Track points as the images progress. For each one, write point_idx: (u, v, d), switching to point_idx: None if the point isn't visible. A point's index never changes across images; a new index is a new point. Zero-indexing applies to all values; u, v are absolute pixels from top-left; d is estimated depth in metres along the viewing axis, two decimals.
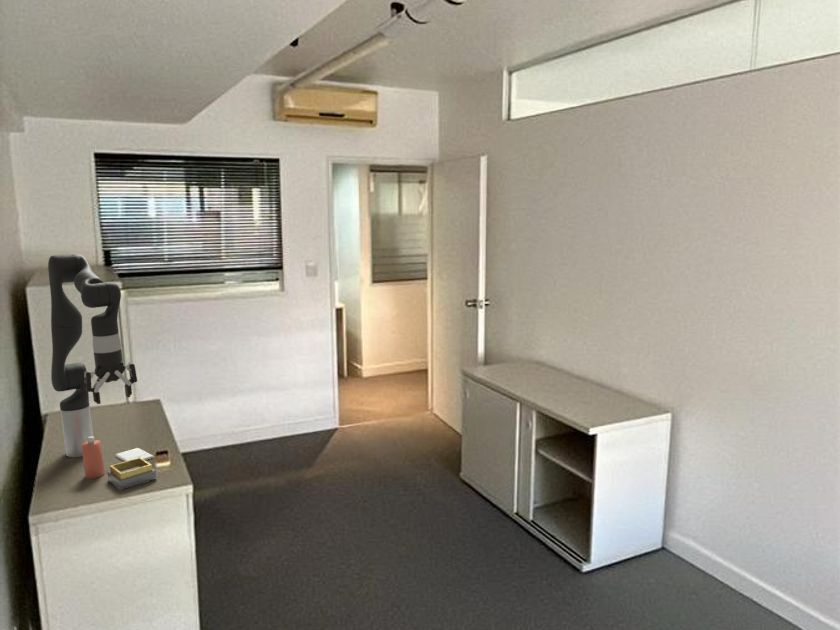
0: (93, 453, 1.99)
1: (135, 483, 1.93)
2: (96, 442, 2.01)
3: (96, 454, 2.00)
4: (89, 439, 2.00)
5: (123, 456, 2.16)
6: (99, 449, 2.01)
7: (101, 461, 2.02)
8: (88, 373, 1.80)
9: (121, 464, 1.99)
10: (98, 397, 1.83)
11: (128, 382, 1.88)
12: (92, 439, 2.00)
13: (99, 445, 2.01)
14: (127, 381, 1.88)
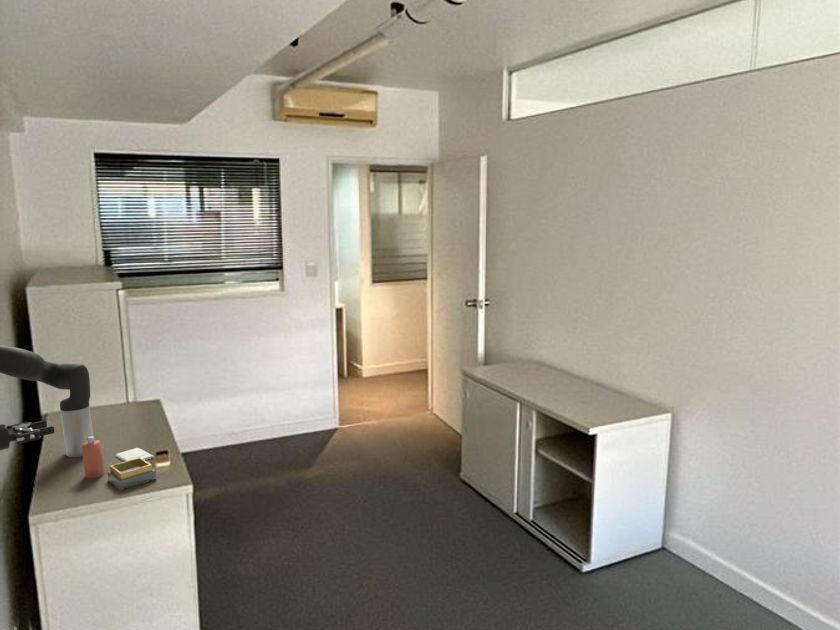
0: (93, 453, 1.99)
1: (135, 483, 1.93)
2: (96, 442, 2.01)
3: (96, 454, 2.00)
4: (89, 439, 2.00)
5: (123, 456, 2.16)
6: (99, 449, 2.01)
7: (101, 461, 2.02)
8: None
9: (121, 464, 1.99)
10: None
11: None
12: (92, 439, 2.00)
13: (99, 445, 2.01)
14: None
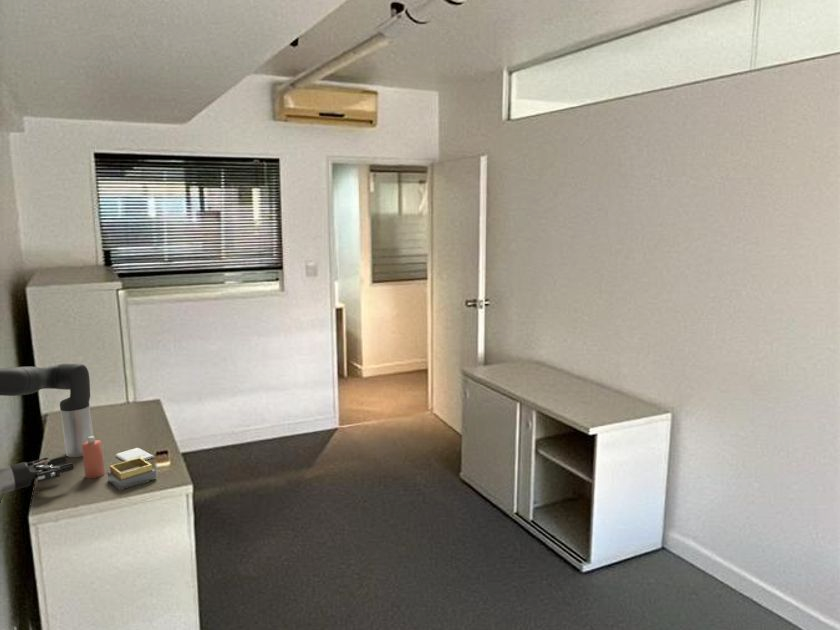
0: (93, 453, 1.99)
1: (135, 483, 1.93)
2: (96, 442, 2.01)
3: (96, 454, 2.00)
4: (89, 439, 2.00)
5: (123, 456, 2.16)
6: (100, 448, 2.01)
7: (101, 461, 2.02)
8: None
9: (121, 464, 1.99)
10: None
11: None
12: (92, 439, 2.00)
13: (99, 445, 2.01)
14: None
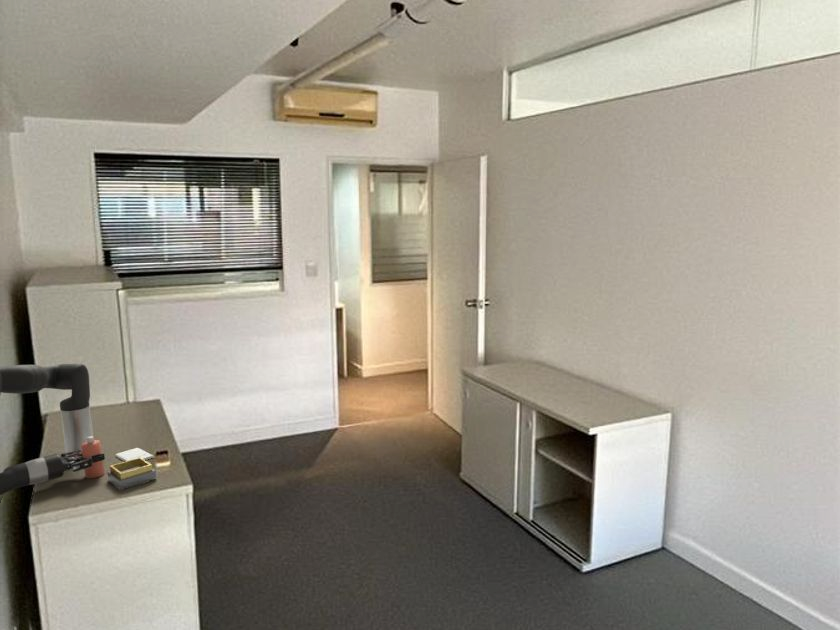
0: (93, 453, 1.99)
1: (135, 483, 1.93)
2: (95, 442, 2.01)
3: (96, 454, 1.99)
4: (88, 439, 1.99)
5: (123, 456, 2.16)
6: (99, 448, 2.01)
7: (101, 461, 2.02)
8: None
9: (121, 464, 1.99)
10: None
11: None
12: (91, 439, 2.00)
13: (99, 445, 2.01)
14: None
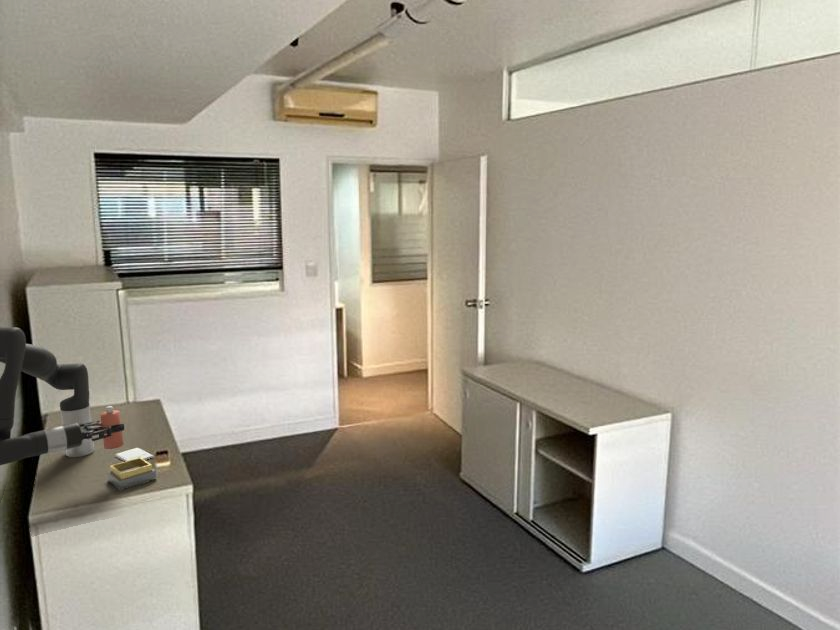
0: (112, 423, 1.93)
1: (135, 483, 1.93)
2: (115, 412, 1.96)
3: (115, 424, 1.94)
4: (108, 409, 1.94)
5: (123, 456, 2.16)
6: (119, 419, 1.95)
7: (120, 431, 1.96)
8: None
9: (121, 464, 1.99)
10: None
11: None
12: (111, 409, 1.94)
13: (118, 415, 1.95)
14: None
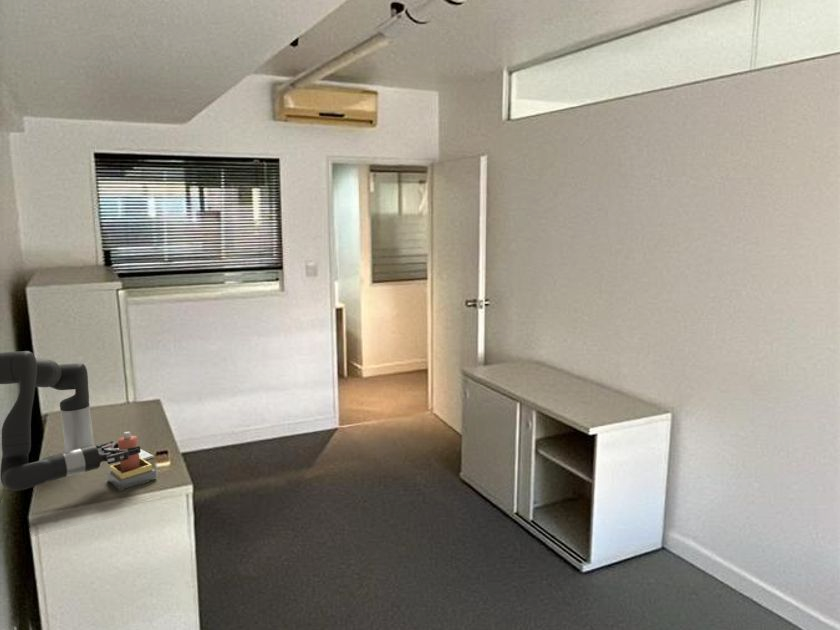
0: None
1: (135, 483, 1.93)
2: (132, 437, 1.96)
3: None
4: (126, 434, 1.94)
5: None
6: (136, 444, 1.95)
7: (137, 457, 1.96)
8: None
9: None
10: None
11: None
12: (129, 434, 1.94)
13: (136, 440, 1.95)
14: None
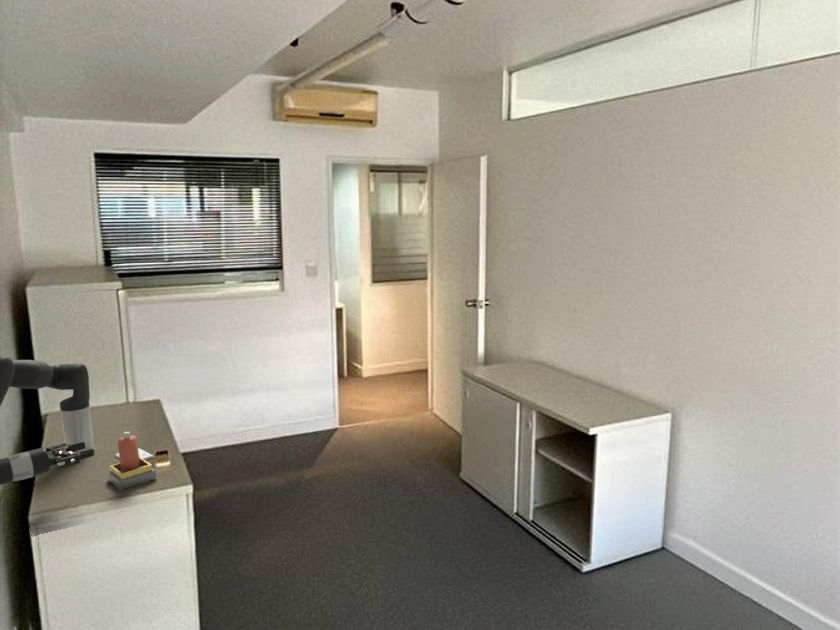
0: (129, 449, 1.93)
1: (135, 483, 1.93)
2: (132, 437, 1.96)
3: (132, 450, 1.94)
4: (125, 434, 1.94)
5: None
6: (136, 444, 1.95)
7: (137, 457, 1.96)
8: None
9: None
10: None
11: None
12: (128, 434, 1.94)
13: (135, 440, 1.95)
14: None
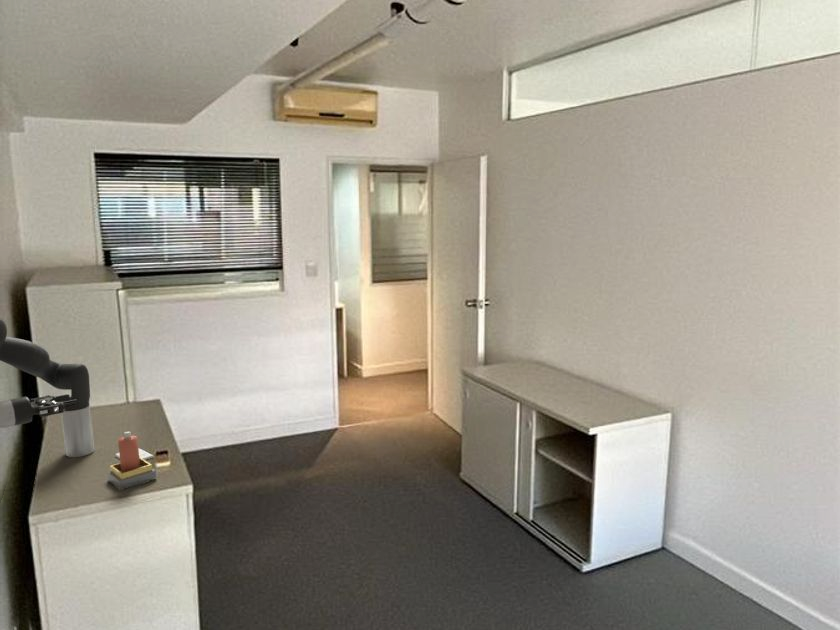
0: (130, 449, 1.93)
1: (135, 483, 1.93)
2: (133, 437, 1.96)
3: (133, 450, 1.94)
4: (126, 434, 1.94)
5: None
6: (136, 444, 1.95)
7: (138, 457, 1.96)
8: None
9: None
10: None
11: None
12: (129, 434, 1.94)
13: (136, 441, 1.95)
14: None
